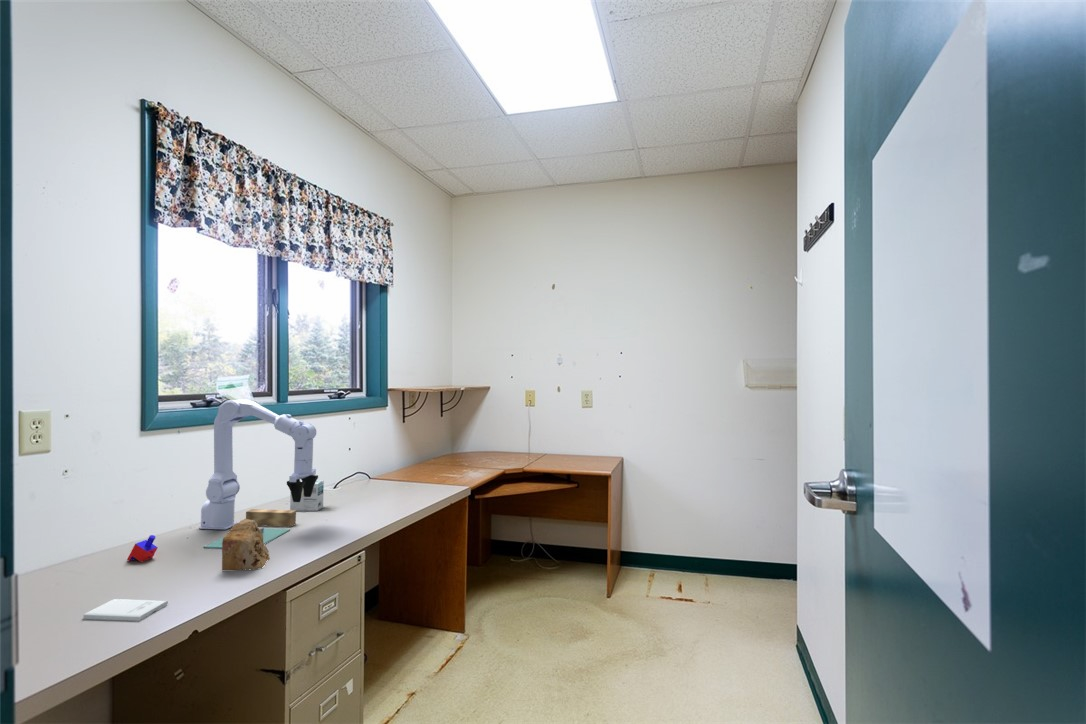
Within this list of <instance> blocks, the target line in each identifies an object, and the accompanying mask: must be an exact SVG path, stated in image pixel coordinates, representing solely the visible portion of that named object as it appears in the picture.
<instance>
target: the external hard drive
mask: <svg viewBox="0 0 1086 724" xmlns="http://www.w3.org/2000/svg"><path fill="white" fill-rule="evenodd" d="M167 604H168V605H169V601H168V600H153V599H152V600H150V599H149V600H148V599H125V598H122V599H121V598H114V599H111V600H109V601H107V602H105V603H103V604H101V605H100V606H97V607H95V608H94V609H91V610H89V611H87V612H85V613H83V617H82V619H83V620H99V621H101V620H104V621H127V620H128V621H131V622H133V621H134V622H140V621H142V620H144V619H145V618H147V617H149V616H150V614H151V615H152V614H153V613H155V612H157V611H159V610H161V609H163V608H164V607H166V606H168V605H167ZM162 607H163V608H162ZM160 608H161V609H160ZM154 611H155V612H154ZM148 615H149V616H148ZM146 616H147V617H146ZM144 617H145V618H144ZM143 618H144V619H143ZM141 619H142V620H141Z"/></svg>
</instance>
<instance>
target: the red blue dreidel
mask: <svg viewBox="0 0 1086 724" xmlns="http://www.w3.org/2000/svg"><path fill="white" fill-rule="evenodd" d="M155 540H156V535H153V534H151V535H149V536H148V538H147V539H145V540H142V541H139V542H137V543H136V542H135V544H134V546H133V547H132V549H131V551H130V554H129V555H128V557H127V559H126V561H128V562H132V561H134V560H136V561H137V560H138V561H139V562H140V563H143V562H145V560H146V561H148V560H151V559H153V557H154V556H155V554H156V552H157V550H158V546H157V545H155V544H153V543H154V541H155ZM150 558H151V559H150ZM133 559H134V560H133ZM131 560H132V561H131ZM142 561H143V562H142Z"/></svg>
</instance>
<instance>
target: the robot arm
mask: <svg viewBox="0 0 1086 724" xmlns="http://www.w3.org/2000/svg"><path fill="white" fill-rule="evenodd" d="M250 416H252V417H253V416H254V417H256V418H257V419H260V420H262V421H264V422H265V421H266V422H268V423H269V424H272V425H273V426H274V429H275V430H277V431H279V432H280V433H283V434H285V435H287V436H289V437H291V438H292V440H293V441H294V460H293V461H294V462H293V463H294V464H293V473H292V474H291V475H290V476H289V479H288V480H287V481H286V485H287V486H288V489H289V491H290V496H291V495H292V499H293V502H300V500H301V495H302V489H303V491H304V497H311V495H312V491H313V488H314V485H315V482H316V481H318V479H319V475H317V474H316V471H317V469H316V468H313V459H314V457H313V456H314V438H316V436H317V429H316V427H315V426H314V425H313V424H311V423H308V422H307V423H304V421H303V420H298V419H296V418H293V417H292V415H291V414H287V413H286V414H281V415H279V414H277V413H275V412H273V411H271V410H270V409H268V408H266V407H264V406H262V405H260V404H259V403H257V402H255V401H251V400H250V399H248V398H243V399H228V400H225V401H224V402H222V403H221V404H220V405H219V406H218V412H217V414H216V416H215V418H214V421H213V449H214V450H213V458H214V459H213V463H214V464H213V472H214V473H213V474H212V476H211V477H210V478H209V479H208V484H207V485H208V486H207V487H206V489H205V496H206V498H207V500H206V501H205V502H203V503H202V506H201V509H200V526H198V529H199V530H200V529H201V530H222V531H223V530H228V529H231V528H232V527H233V526H234V524H235V523H238V522H239V521H235V508H236V506H235V505H236V503H235V502H236V495H238V493H239V492H240V489H241V487H240V484H239V481H238V476H237V474H236V472H234V471H233V470H234V469H233V468H234V467H233V464H234V463H233V461H234V460H233V457H234V456H233V454H234V453H233V427H234V426H235V425H236V424H237V423H238V422H239V421H240V420H243V419H245V418H247V417H250ZM301 481H302V482H301Z"/></svg>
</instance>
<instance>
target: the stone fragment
mask: <svg viewBox="0 0 1086 724" xmlns="http://www.w3.org/2000/svg"><path fill="white" fill-rule="evenodd" d="M237 522H238V523H235V524H234V526H232V527H231V528H230V530H229V531H228V532H227V533H226V534H225V535H224V536H223V537H224V538H223V537H222V538H223V542H222V549H221V552H222V553H221V556H222V557H221V559H222V560H221V571H222V570H234V571H254V570H253V569H256V570H259V569H258V568H261V569H263V568H262V567H263V566H264V565H265V566H266V564H267V562H268V561H269V560H270V555H269V552H270V551H269V550H268V548H267V547H266V544H265V545H264V542H263V538H264V537H263V534H262V532H261V530H259V528H260V527H259V526H258V525H257V523H255V521H254V520H249V519H246V518H244V519H241V520H240V521H237ZM258 527H259V528H258ZM267 560H268V561H267ZM266 561H267V562H266ZM265 563H266V564H265ZM245 569H246V570H245ZM249 569H251V570H249Z"/></svg>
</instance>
